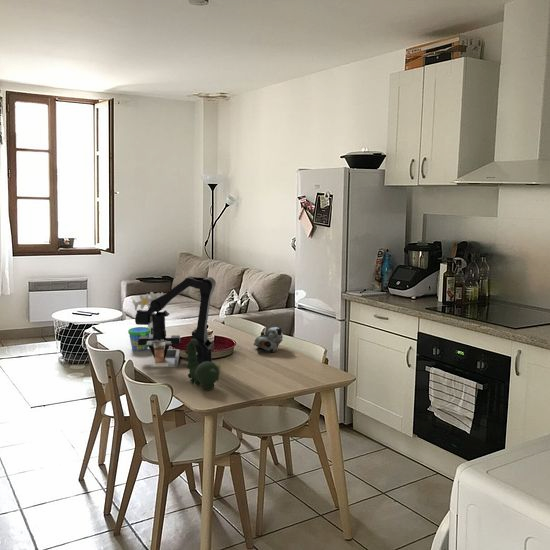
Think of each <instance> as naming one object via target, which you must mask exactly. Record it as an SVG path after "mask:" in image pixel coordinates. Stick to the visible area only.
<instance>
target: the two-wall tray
mask: <svg viewBox="0 0 550 550" xmlns="http://www.w3.org/2000/svg"><path fill="white" fill-rule="evenodd" d="M179 353H180V348H171V349H169V348H168V350H167V353H166V357H165V360H164V362H163V363H155V358H154V356H153V357H152V361H151V363H150V366H149V368H150V369H153V368H177V367H178V364H179V360H180V356H179Z"/></svg>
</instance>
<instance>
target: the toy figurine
mask: <svg viewBox="0 0 550 550" xmlns="http://www.w3.org/2000/svg"><path fill="white" fill-rule="evenodd" d="M195 344H196V346H198V341H197V340H196V339H194V338H193V339H192V338H191V339H190V341H189V342H188V343H187V344H186V345H185V348H186V350H185V351H184V353H185V354H186V355H187V356H186V357H185V359H184V360H185V361H187V364H186V366H185V367H186V369H188V372H189V373H187V377H188V379H190V383H191V382H192V383H191V384H194V385H195V386H199V385H203V387H204V389H205V390H206V389H210V390H213V389H214V388H215V383H216V382H217V381H219V380H220V369H219V367H218V365H217V364H216V363H215V362H213V361H212V362H210V361H205V362H202V363H201V364H199V363H198V361H197V356H196V353H197V351H196V348H195Z"/></svg>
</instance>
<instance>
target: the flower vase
mask: <svg viewBox="0 0 550 550" xmlns="http://www.w3.org/2000/svg"><path fill="white" fill-rule="evenodd" d="M162 295H164V293H163V291H161V293H160V292H157V293H156V294H155V293H154V292H152V291H150V292H149V293H146V294H145V297H144V296H143V294H141V295H139V299H140V300H138V301H136V300H135V299H134V298H133V297H131V300H132V304H133V305H134V311H135V312H137V310H138V306H140V310H144V307H145V306H147V310H148V309H149V308H150V303H151V302H152V301H153V300H154V299H156V298H158V297H160V296H162ZM153 313H156V312H153ZM147 328H150V331H151V328H153V325H152V323H150V324H149V325H147ZM149 338H153V335H151V332H150V334H149Z"/></svg>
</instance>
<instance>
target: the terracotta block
mask: <svg viewBox="0 0 550 550" xmlns="http://www.w3.org/2000/svg"><path fill="white" fill-rule="evenodd" d="M154 348H155V363H163V362H164V360H165V358H164V350H165V345H160V346H159V345H158V346H154Z"/></svg>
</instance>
